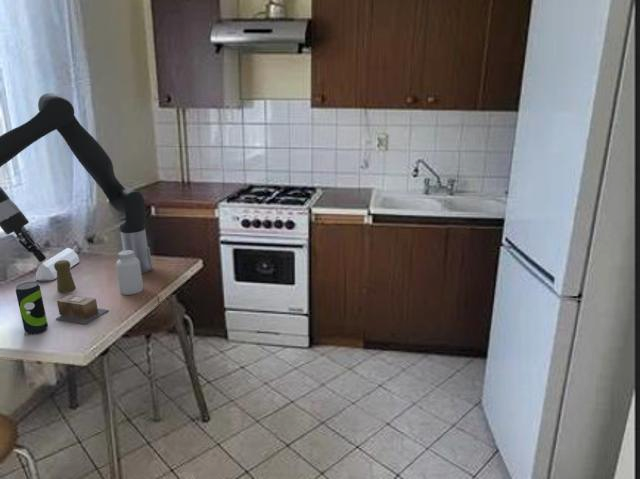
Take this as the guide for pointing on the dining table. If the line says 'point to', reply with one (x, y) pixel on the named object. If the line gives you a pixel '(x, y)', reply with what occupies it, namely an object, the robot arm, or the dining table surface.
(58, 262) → the cork
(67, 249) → the crystal
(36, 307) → the beverage can
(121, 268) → the pill bottle
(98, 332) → the dining table surface
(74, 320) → the rubber mat
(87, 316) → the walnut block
